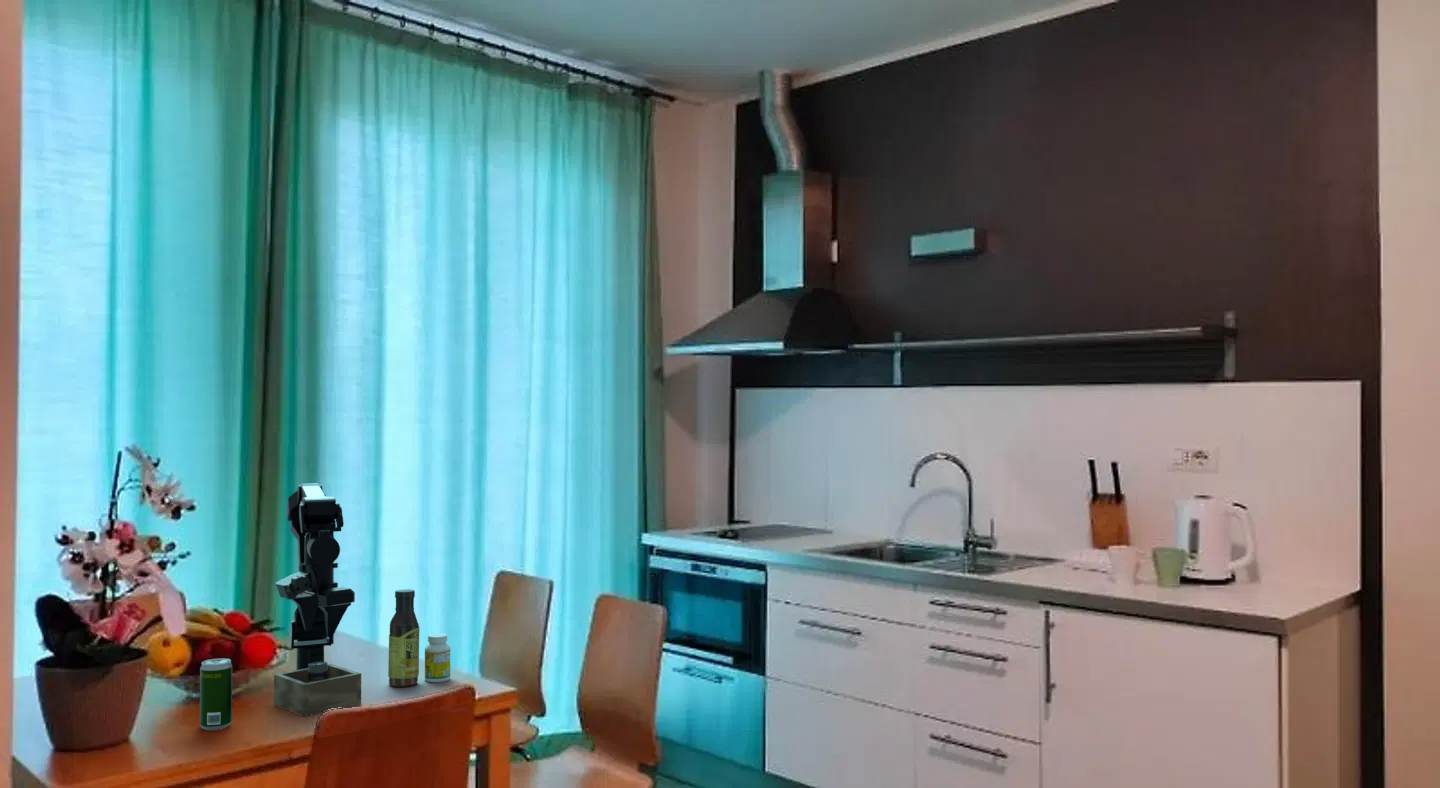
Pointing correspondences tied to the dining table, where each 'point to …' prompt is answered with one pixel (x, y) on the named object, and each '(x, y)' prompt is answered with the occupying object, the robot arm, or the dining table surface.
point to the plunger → (317, 671)
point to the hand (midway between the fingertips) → (318, 633)
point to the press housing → (317, 690)
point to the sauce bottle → (404, 641)
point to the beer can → (215, 694)
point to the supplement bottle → (437, 658)
